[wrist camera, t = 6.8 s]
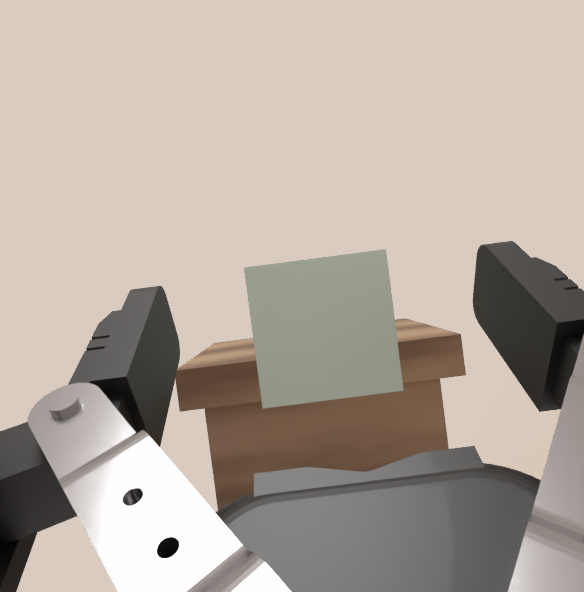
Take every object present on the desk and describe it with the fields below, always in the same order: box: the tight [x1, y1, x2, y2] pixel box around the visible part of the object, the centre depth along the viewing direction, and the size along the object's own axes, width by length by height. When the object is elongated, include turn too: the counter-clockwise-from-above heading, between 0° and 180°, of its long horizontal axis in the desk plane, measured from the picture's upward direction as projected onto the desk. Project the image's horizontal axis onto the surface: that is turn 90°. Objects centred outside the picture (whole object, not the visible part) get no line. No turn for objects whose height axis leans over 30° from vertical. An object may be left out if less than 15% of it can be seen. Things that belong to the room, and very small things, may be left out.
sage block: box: [244, 250, 404, 408], centre depth 27 cm, size 26×4×4 cm, turn 179°
